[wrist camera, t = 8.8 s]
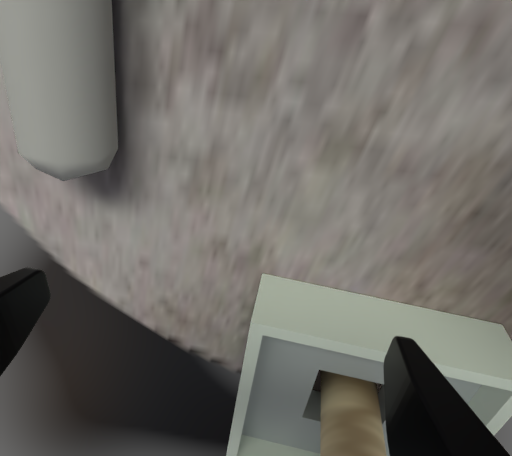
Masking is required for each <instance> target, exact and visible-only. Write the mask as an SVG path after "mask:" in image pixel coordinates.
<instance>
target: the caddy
mask: <svg viewBox="0 0 512 456" xmlns="http://www.w3.org/2000/svg"><path fill="white" fill-rule="evenodd" d="M395 336H402V337H407V338H411V339H413V340H414V341H415V342H416V343H417V344H418V345H419V346H420V348H421V349H422V350H423V351H424V352H425V354H426V355H427V356H428V357H429V358H430V360H431V361H432V362H433V363H434V364H435V366H436V367H437V368H438V369H439V371H440V372H441V373H442V374H443V375H444V377H445V378H446V379H447V380H448V381H449V383H450V384H451V385H452V386H453V387H454V389H455V390H456V391H457V392H458V393H459V395H460V396H461V397H462V398H463V399H464V401H465V402H466V403H467V404H468V405H469V407H470V408H471V409H472V410H473V411H474V413H475V414H476V415H477V416H478V417H479V419H480V420H481V421H482V422H483V423H484V425H485V426H486V427H487V428H488V429H489V431H490V432H491V433H492V434H493V436H494V435H495V434H496V433H497V432H498V431H499V430H500V429H501V427H502V426H503V425H504V424H505V423H506V422H507V421H508V420H509V418H510V417H511V416H512V341H511V339H510V337H509V336H508V334H507V332H506V331H505V329H504V327H503V325H502V324H497V323H492V322H488V321H483V320H478V319H474V318H469V317H464V316H460V315H455V314H450V313H446V312H441V311H436V310H432V309H427V308H422V307H417V306H413V305H408V304H403V303H399V302H394V301H389V300H385V299H380V298H375V297H371V296H366V295H361V294H357V293H352V292H347V291H343V290H338V289H333V288H329V287H324V286H319V285H315V284H310V283H305V282H300V281H296V280H291V279H286V278H282V277H277V276H272V275H268V274H263V273H262V277H261V281H260V286H259V290H258V294H257V298H256V302H255V306H254V311H253V315H252V319H251V323H250V329H249V334H248V340H247V345H246V351H245V356H244V361H243V367H242V372H241V378H240V383H239V389H238V394H237V400H236V406H235V410H234V416H233V422H232V427H231V432H230V438H229V443H228V448H227V454H226V456H320V431H321V392H319V391H314V390H312V388H313V385H314V382H315V380H316V377H317V374H318V371H319V370H323V371H327V372H332V373H336V374H340V375H345V376H349V377H353V378H358V379H362V380H366V381H371V382H375V383H379V384H383V385H382V387H381V389H380V391H379V393H378V399H379V406H380V413H381V420H382V427H383V434H384V440H385V447H386V454H387V456H390V455H389V448H388V442H387V434H386V420H385V395H384V370H383V365H384V359H385V356H386V354H387V351H388V349H389V346H390V344H391V342H392V339H393V338H394V337H395Z"/></svg>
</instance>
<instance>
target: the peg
mask: <svg viewBox="0 0 512 456" xmlns="http://www.w3.org/2000/svg"><path fill="white" fill-rule="evenodd" d="M320 456H387V454H386V447H385V440H384V434H383V427H382V420H381V413H380V406H379V399H378V392H377V385H376V383H375V382H371V381H366V380H362V379H358V378H353V377H349V376H345V375H340V374H336V373H332V372H327V371H323V370H321V431H320Z"/></svg>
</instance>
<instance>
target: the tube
mask: <svg viewBox="0 0 512 456" xmlns="http://www.w3.org/2000/svg"><path fill="white" fill-rule="evenodd" d="M0 64H1V69H2V74H3V79H4V84H5V89H6V94H7V99H8V104H9V109H10V114H11V119H12V124H13V129H14V134H15V139H16V144H17V148H18V153H19V154H20V155H21V156H22V157H23V158H24V159H25V160H27V161H28V162H29V163H30V164H31V165H32V166H33V167H35V168H36V169H38V170H40V171H42V172H44V173H46V174H49V175H51V176H53V177H55V178H58V179H60V180H62V181H66V180H69V179H73V178H77V177H81V176H85V175H88V174H92V173H96V172H100V171H103V170H107V169H108V168H109V166H110V164H111V162H112V160H113V158H114V156H115V154H116V152H117V150H118V130H117V108H116V86H115V63H114V41H113V19H112V0H0Z"/></svg>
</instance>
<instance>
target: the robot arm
mask: <svg viewBox="0 0 512 456" xmlns="http://www.w3.org/2000/svg"><path fill="white" fill-rule="evenodd" d="M50 296H51V293H50V290H49V286H48V282H47V278H46V274H45V272H44V271H42V270H40V269H35V268H28V267H27V268H23V269H21V270H18V271H16V272H13V273H10V274H8V275H5V276H2V277H0V376H1V375H2V373H3V372H4V371H5V369H6V368H7V367H8V365H9V364H10V363H11V361H12V360H13V358H14V357H15V356H16V354H17V353H18V351H19V350H20V348H21V347H22V345H23V344H24V342H25V340H26V339H27V337H28V335H29V334H30V332H31V331H32V329H33V327H34V326H35V324H36V322H37V321H38V319H39V317H40V316H41V314H42V313H43V311H44V309H45V308H46V306H47V304H48V302H49V300H50ZM383 370H384V395H385V420H386V434H387V442H388V448H389V455H390V456H510V455H509V454H508V452H507V451H506V450H505V449H504V448H503V446H502V445H501V444H500V443H499V442H498V440H497V439H496V438H495V437H494V436H493V434H492V433H491V432H490V431H489V429H488V428H487V427H486V426H485V425H484V423H483V422H482V421H481V420H480V419H479V417H478V416H477V415H476V414H475V413H474V411H473V410H472V409H471V408H470V407H469V405H468V404H467V403H466V402H465V401H464V399H463V398H462V397H461V396H460V395H459V393H458V392H457V391H456V390H455V389H454V387H453V386H452V385H451V384H450V383H449V381H448V380H447V379H446V378H445V377H444V375H443V374H442V373H441V372H440V371H439V369H438V368H437V367H436V366H435V364H434V363H433V362H432V361H431V360H430V358H429V357H428V356H427V355H426V354H425V352H424V351H423V350H422V349H421V348H420V346H419V345H418V344H417V343H416V342H415V341H414V340H413V339H411V338H407V337H402V336H395V337H394V338H393V339H392V342H391V344H390V346H389V349H388V351H387V354H386V356H385V359H384V365H383Z"/></svg>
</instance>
